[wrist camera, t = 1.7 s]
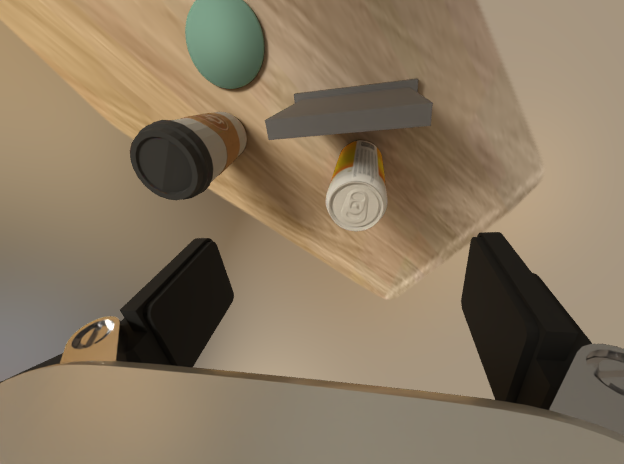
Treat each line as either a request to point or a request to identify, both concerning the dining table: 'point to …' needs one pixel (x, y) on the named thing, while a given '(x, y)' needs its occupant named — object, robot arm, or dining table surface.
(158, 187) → the coffee cup
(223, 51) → the coaster
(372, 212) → the beer can
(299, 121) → the screen
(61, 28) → the dining table surface
